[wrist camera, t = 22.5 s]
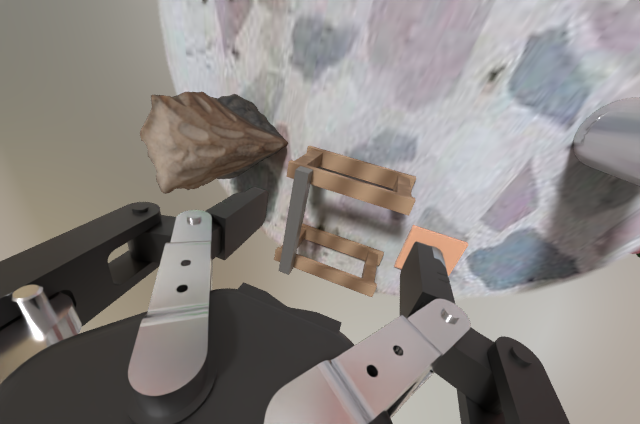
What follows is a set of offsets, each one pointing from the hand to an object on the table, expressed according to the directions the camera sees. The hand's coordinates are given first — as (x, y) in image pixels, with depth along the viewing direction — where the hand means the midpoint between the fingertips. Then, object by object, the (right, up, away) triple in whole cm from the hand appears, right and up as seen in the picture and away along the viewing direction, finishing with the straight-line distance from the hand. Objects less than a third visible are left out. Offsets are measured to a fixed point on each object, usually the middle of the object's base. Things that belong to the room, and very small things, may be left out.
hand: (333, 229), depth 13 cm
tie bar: (-5, -1, +28) cm, 28 cm away
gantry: (+5, +2, +36) cm, 36 cm away
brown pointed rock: (-15, +17, +35) cm, 42 cm away
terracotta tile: (+21, -7, +35) cm, 41 cm away
